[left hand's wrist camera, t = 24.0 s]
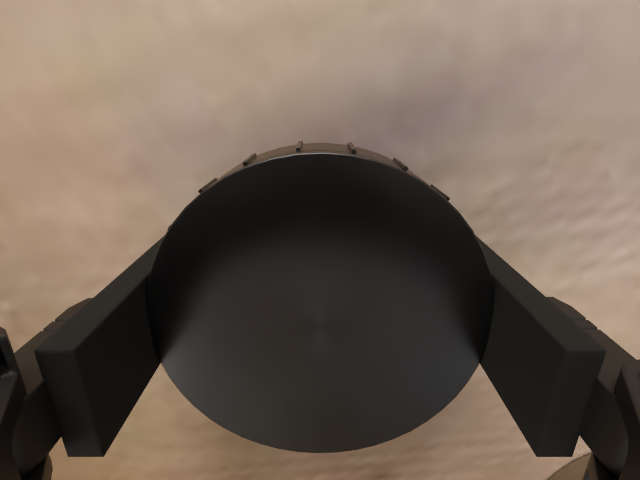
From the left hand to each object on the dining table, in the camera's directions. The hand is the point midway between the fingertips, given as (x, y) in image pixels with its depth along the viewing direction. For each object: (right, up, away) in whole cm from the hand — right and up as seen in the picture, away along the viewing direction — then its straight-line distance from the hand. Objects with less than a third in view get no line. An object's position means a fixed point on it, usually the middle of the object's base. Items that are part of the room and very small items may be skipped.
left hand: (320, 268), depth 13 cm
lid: (0, -1, -3) cm, 3 cm away
